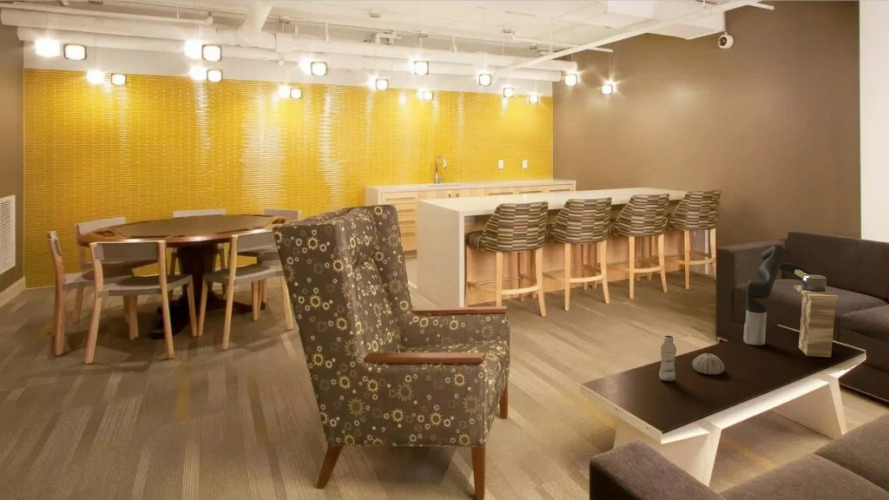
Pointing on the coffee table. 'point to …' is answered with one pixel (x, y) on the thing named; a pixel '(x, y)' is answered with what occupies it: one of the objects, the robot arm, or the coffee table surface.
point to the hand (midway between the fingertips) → (818, 308)
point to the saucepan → (812, 282)
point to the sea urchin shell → (708, 364)
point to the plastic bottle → (667, 359)
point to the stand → (817, 322)
